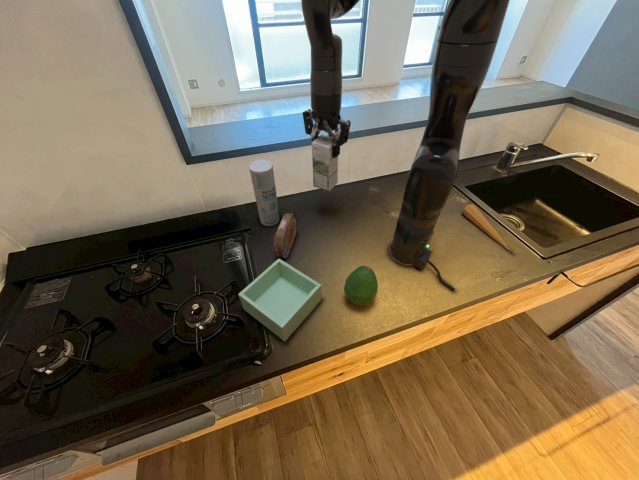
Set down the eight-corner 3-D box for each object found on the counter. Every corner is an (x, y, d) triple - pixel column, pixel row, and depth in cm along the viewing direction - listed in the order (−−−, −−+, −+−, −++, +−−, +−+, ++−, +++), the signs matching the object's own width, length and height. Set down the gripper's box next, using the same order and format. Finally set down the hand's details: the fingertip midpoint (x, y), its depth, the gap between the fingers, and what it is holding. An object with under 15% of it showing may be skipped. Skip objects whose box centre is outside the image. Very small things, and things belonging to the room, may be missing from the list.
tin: (284, 264, 78) (281, 243, 72) (274, 262, 79) (270, 241, 73) (298, 228, 89) (296, 207, 83) (288, 227, 89) (286, 206, 83)
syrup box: (338, 182, 87) (340, 137, 77) (328, 192, 83) (329, 146, 73) (322, 177, 89) (322, 133, 79) (312, 187, 85) (310, 141, 75)
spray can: (266, 229, 88) (256, 174, 74) (256, 218, 92) (244, 164, 78) (283, 220, 91) (277, 166, 77) (272, 211, 95) (264, 157, 81)
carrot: (459, 214, 95) (460, 206, 91) (471, 207, 94) (473, 199, 91) (503, 259, 83) (506, 252, 79) (517, 252, 83) (521, 245, 79)
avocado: (372, 315, 67) (379, 286, 59) (340, 307, 69) (343, 278, 60) (376, 289, 72) (384, 258, 64) (346, 282, 74) (350, 251, 65)
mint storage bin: (321, 300, 70) (321, 284, 65) (284, 341, 63) (282, 327, 58) (281, 274, 76) (278, 258, 71) (243, 309, 68) (237, 294, 64)
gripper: (293, 86, 68) (297, 151, 80) (342, 99, 61) (339, 167, 73) (312, 79, 72) (313, 141, 84) (360, 90, 66) (354, 155, 78)
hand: (325, 153), depth 79 cm, fingers closed on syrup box, 6 cm apart
